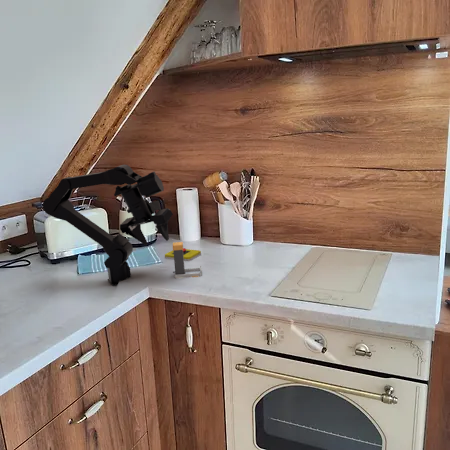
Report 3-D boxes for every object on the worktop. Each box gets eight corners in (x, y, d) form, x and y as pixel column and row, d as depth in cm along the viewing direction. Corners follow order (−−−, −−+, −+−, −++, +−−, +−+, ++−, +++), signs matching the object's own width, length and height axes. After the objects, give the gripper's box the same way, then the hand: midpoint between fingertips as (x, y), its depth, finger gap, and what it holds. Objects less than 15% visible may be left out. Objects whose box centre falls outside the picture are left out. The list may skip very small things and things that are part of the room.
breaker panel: (171, 282, 152) (170, 273, 152) (172, 275, 159) (171, 267, 158) (202, 280, 153) (202, 271, 152) (202, 273, 160) (201, 264, 159)
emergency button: (173, 244, 182) (206, 247, 175) (174, 255, 183) (207, 259, 176) (159, 251, 174) (193, 255, 167) (160, 262, 175) (194, 266, 168)
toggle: (175, 277, 154) (172, 245, 151) (175, 273, 157) (173, 242, 155) (185, 276, 154) (182, 245, 151) (185, 272, 158) (182, 241, 155)
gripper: (169, 184, 151) (189, 225, 157) (127, 196, 160) (147, 234, 166) (153, 200, 142) (175, 242, 148) (109, 212, 152) (131, 251, 157)
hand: (157, 242), depth 155 cm, fingers open, 9 cm apart
